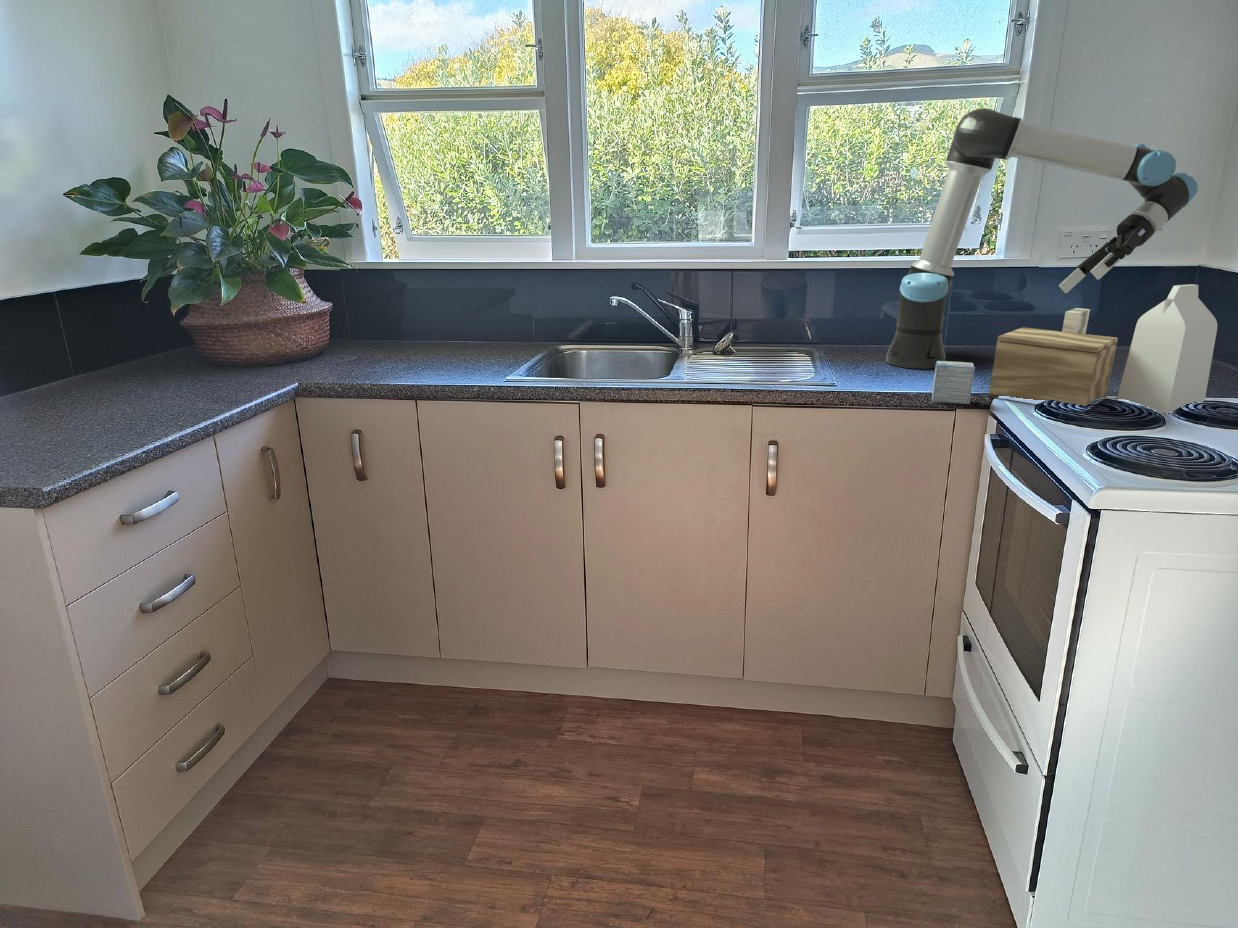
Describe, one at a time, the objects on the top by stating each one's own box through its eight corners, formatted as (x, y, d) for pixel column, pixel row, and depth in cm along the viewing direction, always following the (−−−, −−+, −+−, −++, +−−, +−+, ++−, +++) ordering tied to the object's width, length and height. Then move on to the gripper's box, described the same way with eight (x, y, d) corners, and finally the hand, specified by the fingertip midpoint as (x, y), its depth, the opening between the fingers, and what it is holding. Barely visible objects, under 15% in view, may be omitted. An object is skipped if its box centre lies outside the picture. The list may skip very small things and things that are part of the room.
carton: (1084, 413, 172) (1096, 353, 167) (988, 397, 185) (997, 341, 180) (1105, 399, 182) (1116, 343, 178) (1013, 385, 196) (1022, 332, 191)
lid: (1094, 364, 168) (1101, 326, 165) (995, 351, 181) (1000, 316, 179) (1124, 348, 185) (1131, 313, 182) (1032, 337, 198) (1037, 304, 195)
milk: (1166, 414, 170) (1195, 289, 162) (1116, 401, 180) (1140, 283, 172) (1203, 408, 175) (1233, 286, 166) (1151, 396, 185) (1177, 281, 176)
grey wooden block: (968, 400, 182) (973, 362, 179) (969, 405, 178) (975, 366, 175) (931, 397, 185) (936, 360, 182) (931, 402, 181) (936, 364, 178)
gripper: (1187, 219, 186) (1120, 280, 185) (1119, 251, 211) (1060, 305, 210) (1165, 195, 186) (1098, 256, 185) (1099, 230, 211) (1040, 284, 210)
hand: (1078, 282), depth 198 cm, fingers open, 13 cm apart
